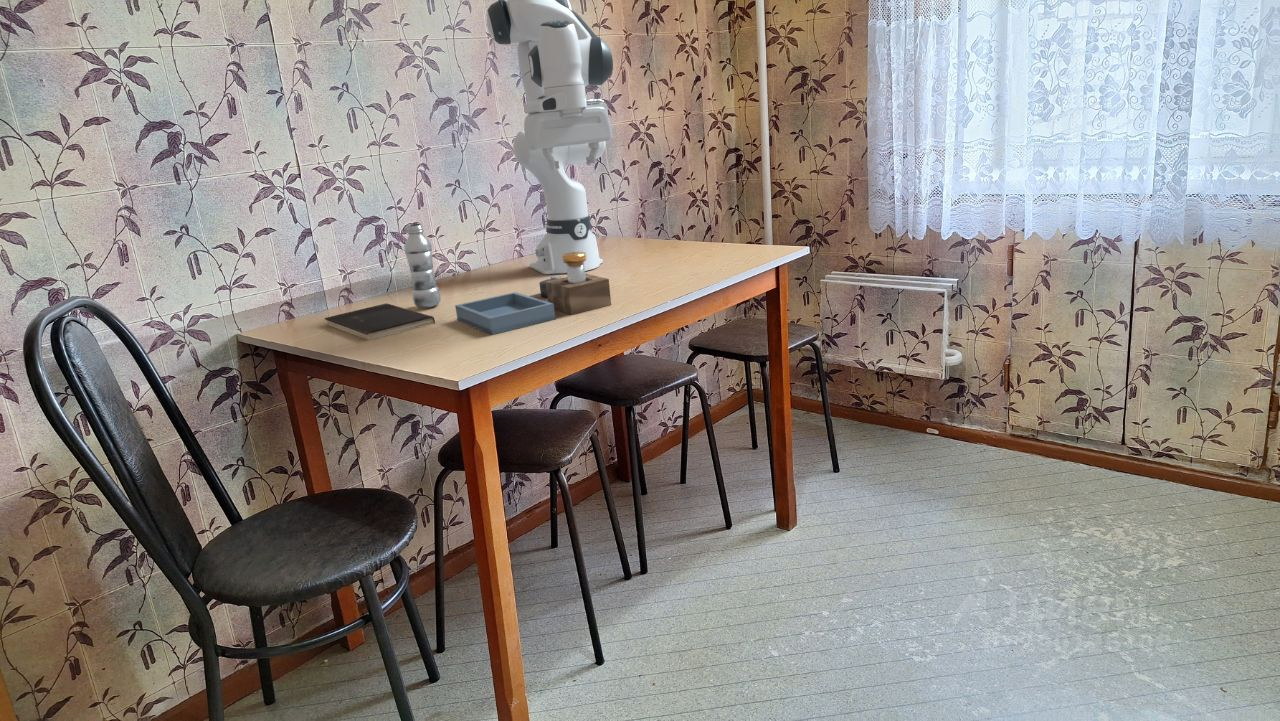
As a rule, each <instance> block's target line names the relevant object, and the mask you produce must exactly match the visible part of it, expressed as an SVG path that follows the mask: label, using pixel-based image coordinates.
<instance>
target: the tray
mask: <svg viewBox="0 0 1280 721" xmlns="http://www.w3.org/2000/svg"><path fill="white" fill-rule="evenodd" d="M454 306H455V312H456V319H457V321H458V322H460V323H463V324H465V325H466V326H467V325H468V326H470V327H473V328H474V329H478V330H479V331H482V332H485V333H486V334H489V335H492V336H493V335H494V336H495V335H498V334H501V333H502V334H503V333H506V332H510V331H513V330H517V329H522V328H526V327H529V326H534V325H538V324H542V323H546V322H550V321H554V320H556V312H555V309H554V304H553V303H550V302H547V301H544V300H540V299H537V298H534V297H530V295H527V294H524V293H521V292H517V291H514V292H510V293H506V294H505V293H504V294H500V295H496V296H492V297H487V298H482V299H477V300H474V301H469V302H464V303H460V304H456V305H454Z"/></svg>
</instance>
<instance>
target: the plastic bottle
mask: <svg viewBox="0 0 1280 721" xmlns="http://www.w3.org/2000/svg"><path fill="white" fill-rule="evenodd" d="M406 230H407V231H406V234H407V235H408V237H407V239H406V241H405V244H404V248H403V249H404V253H405V258H406V259H407V263H408V266H409V267H408V268H409V271H410V275H411V286H412V300H413V304H414V306H416V307H417V308H419V309H421V308H422V309H430V308H432V307H435V306H438V305H439V304H440V302H441V292H440V288H439V286H437V285H438V283H437V280H436V277H435V272H434V264H433V263H434V262H433V247H432V246H433V245H432V243H431V241H430V240H429V238H427V237H426V236H425V235H424V232H425V231H424V226H423V223H411V224H407V225H406Z"/></svg>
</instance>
